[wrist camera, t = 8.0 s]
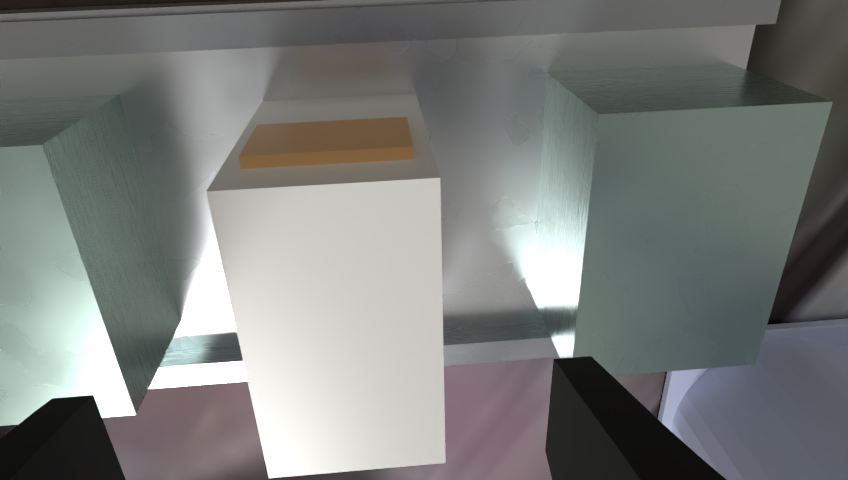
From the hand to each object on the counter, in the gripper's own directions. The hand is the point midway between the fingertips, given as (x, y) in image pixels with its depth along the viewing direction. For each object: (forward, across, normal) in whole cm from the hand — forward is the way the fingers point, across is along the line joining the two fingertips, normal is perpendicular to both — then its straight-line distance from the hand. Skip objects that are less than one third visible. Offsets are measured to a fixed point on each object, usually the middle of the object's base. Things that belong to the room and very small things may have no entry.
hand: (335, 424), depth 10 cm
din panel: (+9, 0, 0) cm, 9 cm away
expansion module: (+8, 0, 0) cm, 8 cm away
